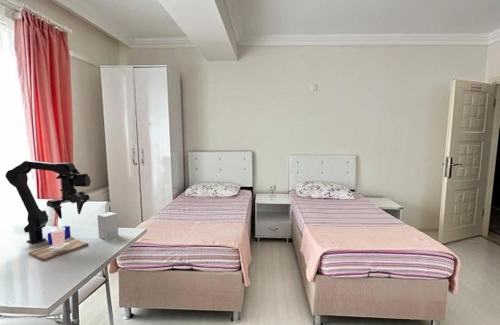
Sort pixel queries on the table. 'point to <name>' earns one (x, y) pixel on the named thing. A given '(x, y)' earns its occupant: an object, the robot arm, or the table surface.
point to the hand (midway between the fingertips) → (70, 216)
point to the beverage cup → (58, 237)
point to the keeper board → (50, 253)
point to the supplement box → (107, 225)
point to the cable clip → (67, 234)
